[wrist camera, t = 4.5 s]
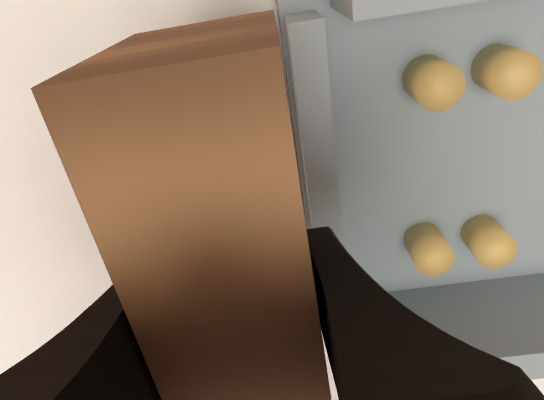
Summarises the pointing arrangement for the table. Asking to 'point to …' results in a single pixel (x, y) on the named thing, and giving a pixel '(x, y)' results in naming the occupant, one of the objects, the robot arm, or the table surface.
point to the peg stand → (429, 155)
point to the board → (197, 205)
